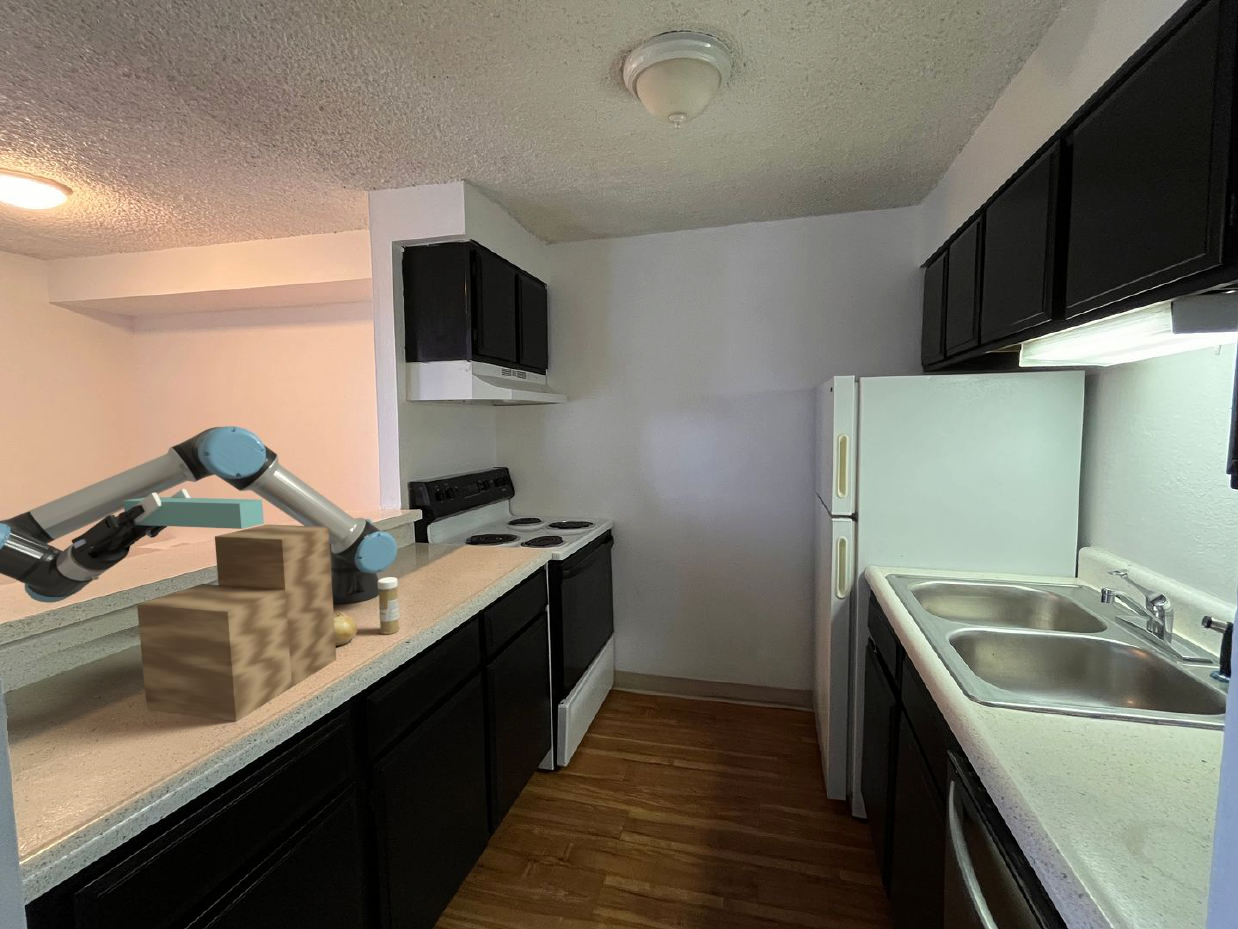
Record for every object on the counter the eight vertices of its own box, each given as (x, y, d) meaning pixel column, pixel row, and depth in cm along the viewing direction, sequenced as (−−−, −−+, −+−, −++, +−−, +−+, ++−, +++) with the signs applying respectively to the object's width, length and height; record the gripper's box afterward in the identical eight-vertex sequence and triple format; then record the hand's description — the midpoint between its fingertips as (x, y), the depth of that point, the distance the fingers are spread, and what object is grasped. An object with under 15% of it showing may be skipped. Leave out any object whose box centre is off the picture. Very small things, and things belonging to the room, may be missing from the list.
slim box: (152, 519, 100) (149, 496, 100) (263, 523, 95) (262, 499, 95) (125, 524, 96) (123, 500, 96) (241, 528, 91) (239, 503, 90)
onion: (364, 640, 125) (362, 612, 124) (330, 653, 118) (328, 623, 118) (346, 633, 129) (345, 605, 129) (313, 644, 123) (311, 615, 122)
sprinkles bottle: (376, 631, 130) (374, 579, 128) (394, 626, 133) (391, 575, 132) (385, 636, 127) (382, 583, 126) (403, 630, 130) (400, 578, 129)
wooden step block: (261, 652, 119) (251, 523, 116) (336, 659, 115) (328, 526, 112) (146, 709, 95) (131, 550, 93) (236, 721, 91) (223, 555, 89)
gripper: (152, 558, 110) (226, 506, 105) (46, 584, 93) (128, 524, 87) (136, 527, 110) (209, 474, 105) (27, 548, 93) (107, 485, 88)
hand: (172, 497), depth 96 cm, fingers closed on slim box, 4 cm apart
